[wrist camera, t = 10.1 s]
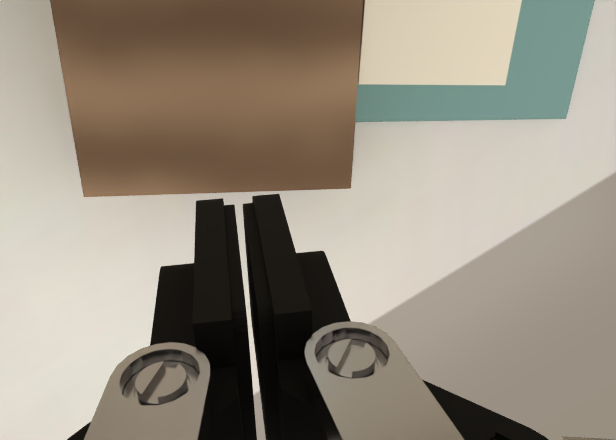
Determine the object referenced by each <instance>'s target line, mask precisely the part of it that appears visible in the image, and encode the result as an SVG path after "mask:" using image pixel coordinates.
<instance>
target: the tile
mask: <svg viewBox="0 0 616 440" xmlns="http://www.w3.org/2000/svg"><path fill="white" fill-rule="evenodd" d="M521 2H522V0H363V10H362V25H361V40H360V55H359V70H358V84H383V85H505V84H506V79H507V74H508V69H509V64H510V58H511V53H512V48H513V43H514V38H515V33H516V28H517V23H518V18H519V13H520V8H521Z"/></svg>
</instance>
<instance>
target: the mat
mask: <svg viewBox="0 0 616 440" xmlns="http://www.w3.org/2000/svg"><path fill="white" fill-rule="evenodd" d="M594 1H595V0H522V2H521V8H520V13H519V18H518V23H517V28H516V33H515V38H514V43H513V48H512V53H511V58H510V64H509V69H508V74H507V79H506V84H505V85H383V84H358V85H357V101H356V116H355V122H383V121H450V120H517V119H566V117H567V113H568V109H569V104H570V100H571V96H572V92H573V88H574V84H575V79H576V75H577V71H578V67H579V63H580V59H581V55H582V50H583V46H584V42H585V38H586V34H587V30H588V26H589V21H590V17H591V13H592V9H593V5H594Z"/></svg>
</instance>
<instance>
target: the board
mask: <svg viewBox="0 0 616 440" xmlns="http://www.w3.org/2000/svg"><path fill="white" fill-rule="evenodd" d="M50 2H51V8H52V14H53V20H54V25H55V31H56V37H57V43H58V49H59V55H60V60H61V66H62V72H63V78H64V84H65V90H66V96H67V101H68V107H69V113H70V119H71V125H72V131H73V136H74V142H75V148H76V154H77V160H78V166H79V171H80V177H81V183H82V189H83V195H84V197H97V196H128V195H159V194H191V193H222V192H254V191H285V190H316V189H348V188H351V177H352V161H353V146H354V131H355V116H356V101H357V85H358V70H359V55H360V40H361V25H362V10H363V0H50Z"/></svg>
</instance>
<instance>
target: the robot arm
mask: <svg viewBox="0 0 616 440" xmlns="http://www.w3.org/2000/svg"><path fill="white" fill-rule="evenodd" d="M252 200H253V203H248V204H243V215H244V229H245V242H246V255H247V268H248V281H249V294H250V307H251V319H252V328H253V337H254V345H255V353H256V361H257V369H258V378H259V386H260V394H261V401H262V410H263V419H264V426H265V435H266V440H548V439H547V438H546V437H544V436H543V435H541V434H539V433H538V432H536V431H534V430H532V429H531V428H529V427H526V426H524V425H522V424H520V423H517V422H515V421H513V420H511V419H509V418H506V417H504V416H502V415H500V414H497V413H495V412H493V411H491V410H488V409H486V408H484V407H482V406H480V405H477V404H475V403H473V402H471V401H468V400H466V399H464V398H462V397H460V396H457V395H455V394H453V393H450V392H448V391H446V390H444V389H442V388H440V387H437V386H435V385H433V384H431V383H428V382H426V381H424V380H422V379H421V378H420V376H419V375H418V373H417V372H416V370H415V369H414V368H413V366H412V365H411V363H410V362H409V361H408V359H407V358H406V356H405V355H404V354H403V352H402V351H401V349H400V348H399V346H398V345H397V344H396V342H395V341H394V340H393V339H392V338H391V337H390V336H389V335H388V334H387V333H386V332H384V331H382V330H381V329H379V328H377V327H375V326H372V325H369V324H365V323H361V322H351V321H350V318H349V316H348V313H347V310H346V308H345V305H344V302H343V300H342V297H341V294H340V292H339V289H338V286H337V284H336V281H335V278H334V276H333V273H332V270H331V268H330V265H329V262H328V260H327V257H326V255H325V253H324V251H315V252H305V253H296V252H295V248H294V245H293V241H292V238H291V234H290V231H289V227H288V224H287V220H286V217H285V213H284V210H283V206H282V203H281V199H280V196H279V194H272V195H260V196H253V198H252ZM254 413H255V412H254V400H253V387H252V375H251V362H250V350H249V338H248V326H247V315H246V306H245V297H244V288H243V279H242V270H241V261H240V252H239V243H238V233H237V224H236V215H235V206H234V205H224V202H223V199H212V200H199V201H196V223H195V258H194V263H193V264H182V265H172V266H162V267H161V269H160V274H159V282H158V289H157V297H156V305H155V313H154V320H153V328H152V336H151V343H150V346H148V347H145V348H142V349H140V350H138V351H136V352H134V353H133V354H131V355H129V356H127V357H126V358H125V359H124V360H123V361H122V362H121V363H120V364H118V365H117V367H116V368H115V370H114V371H113V373H112V375H111V376H110V378H109V381H108V383H107V385H106V388H105V390H104V393H103V395H102V397H101V400H100V402H99V405H98V407H97V409H96V412H95V414H94V416H93V419H92V421H91V422H90V423H88V424H87V425H86V426H84V427H83V428H82V429H80V430H79V431H78V432H76V433H75V434H74V435H72V436H71V437H70V438H68V439H67V440H257V437H256V424H255V414H254ZM561 440H616V439H602V438H582V437H562V438H561Z"/></svg>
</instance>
